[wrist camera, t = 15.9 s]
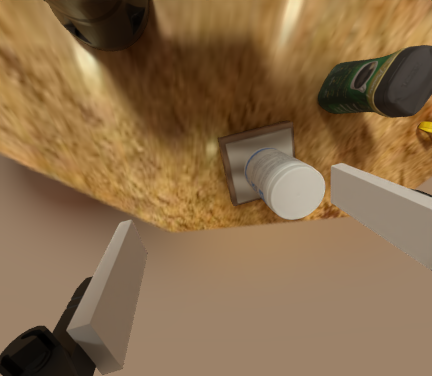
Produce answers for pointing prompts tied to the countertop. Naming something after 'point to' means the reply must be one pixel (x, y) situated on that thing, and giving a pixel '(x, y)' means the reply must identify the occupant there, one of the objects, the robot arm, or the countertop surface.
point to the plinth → (243, 147)
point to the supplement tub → (284, 183)
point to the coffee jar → (381, 84)
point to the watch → (426, 126)
